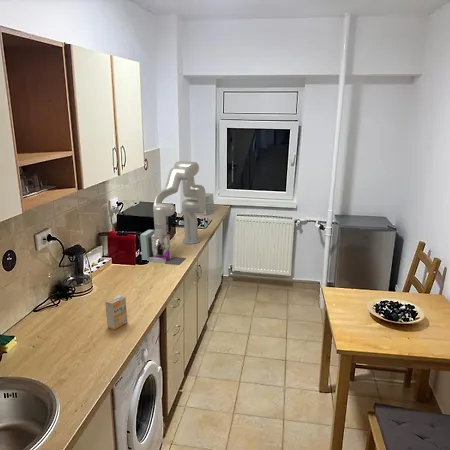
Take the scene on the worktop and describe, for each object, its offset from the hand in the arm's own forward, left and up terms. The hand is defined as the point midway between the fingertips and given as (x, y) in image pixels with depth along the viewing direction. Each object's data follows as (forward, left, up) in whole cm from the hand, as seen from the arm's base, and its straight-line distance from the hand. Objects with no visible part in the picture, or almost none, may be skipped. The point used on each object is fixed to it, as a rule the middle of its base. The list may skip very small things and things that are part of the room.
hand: (162, 252), depth 266 cm
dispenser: (0, -4, -5) cm, 6 cm away
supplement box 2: (-123, -15, -5) cm, 124 cm away
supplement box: (+82, +15, -5) cm, 84 cm away
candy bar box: (0, 0, -5) cm, 5 cm away
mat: (0, +9, -5) cm, 11 cm away
